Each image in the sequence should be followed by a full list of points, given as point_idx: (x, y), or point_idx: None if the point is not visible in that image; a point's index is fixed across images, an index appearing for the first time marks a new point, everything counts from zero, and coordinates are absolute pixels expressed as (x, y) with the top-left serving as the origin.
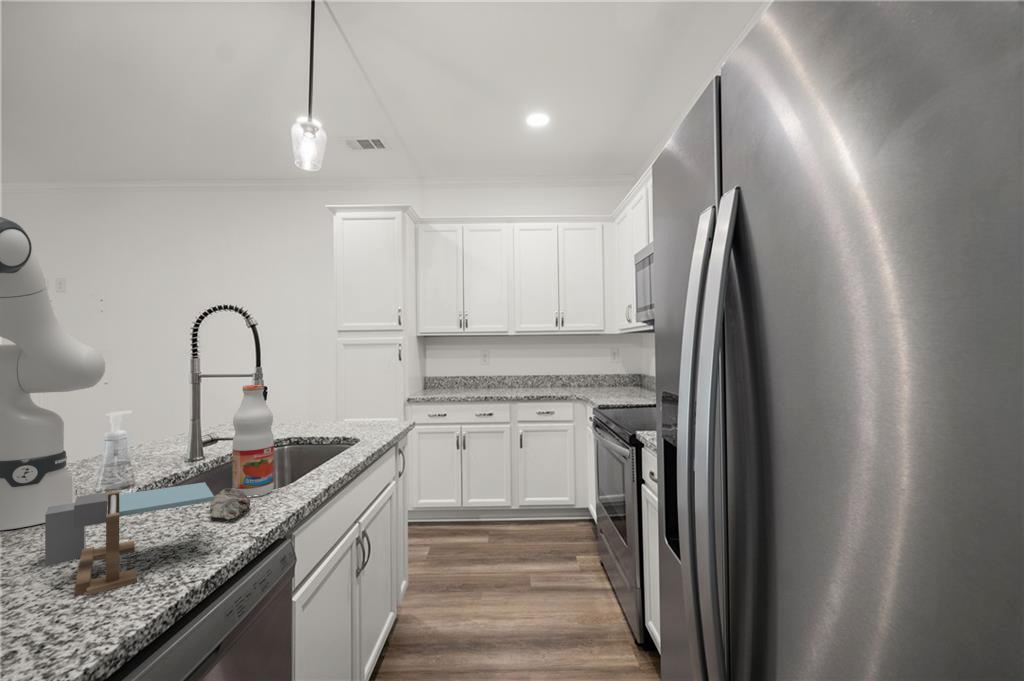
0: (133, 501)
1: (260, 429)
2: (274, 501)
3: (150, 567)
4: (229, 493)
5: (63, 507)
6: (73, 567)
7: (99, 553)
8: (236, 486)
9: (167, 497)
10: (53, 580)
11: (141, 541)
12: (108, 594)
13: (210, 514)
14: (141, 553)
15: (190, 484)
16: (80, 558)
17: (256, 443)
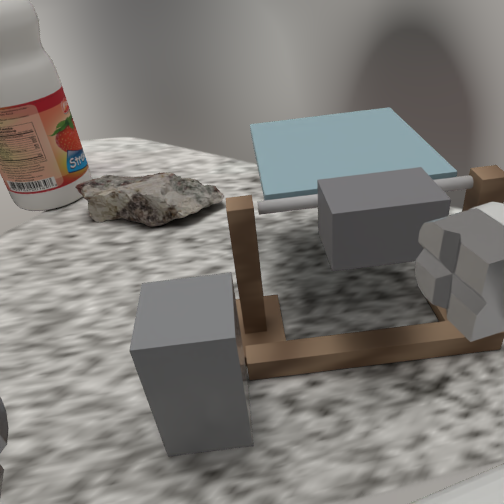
0: (362, 169)
1: (39, 38)
2: (146, 173)
3: (395, 272)
4: (118, 182)
5: (177, 314)
6: (308, 384)
7: (274, 341)
8: (54, 184)
9: (356, 141)
10: (380, 405)
11: None
12: None
13: (181, 214)
14: (299, 292)
15: (253, 134)
16: (323, 354)
17: (54, 73)
